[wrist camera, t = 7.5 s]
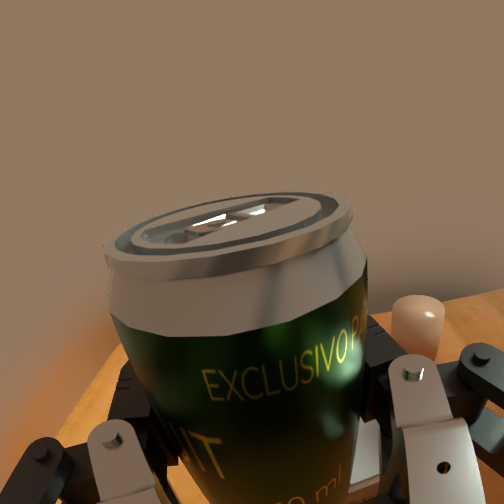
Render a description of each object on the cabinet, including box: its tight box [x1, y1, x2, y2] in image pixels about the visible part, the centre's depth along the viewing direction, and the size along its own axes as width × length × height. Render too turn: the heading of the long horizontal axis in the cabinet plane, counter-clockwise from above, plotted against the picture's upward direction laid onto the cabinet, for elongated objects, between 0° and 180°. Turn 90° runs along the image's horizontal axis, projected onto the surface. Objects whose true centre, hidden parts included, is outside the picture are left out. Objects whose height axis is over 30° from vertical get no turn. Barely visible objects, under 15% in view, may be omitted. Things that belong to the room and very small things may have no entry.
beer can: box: [103, 191, 368, 504], centre depth 8 cm, size 5×5×12 cm
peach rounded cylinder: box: [390, 295, 445, 361], centre depth 30 cm, size 6×6×6 cm
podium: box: [345, 417, 380, 504], centre depth 21 cm, size 11×11×3 cm
